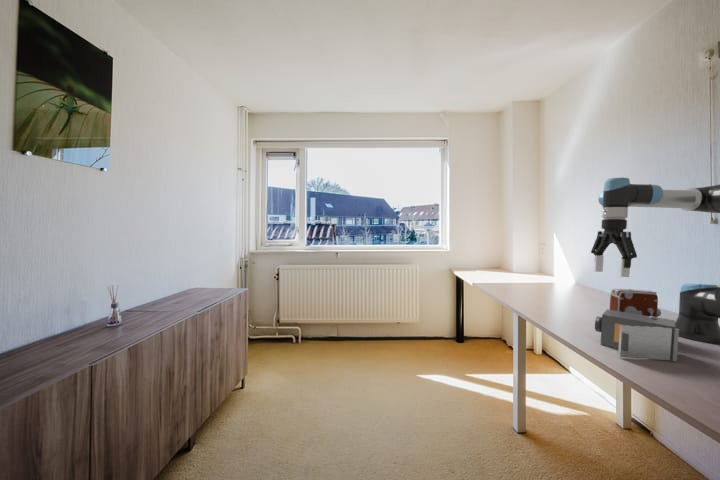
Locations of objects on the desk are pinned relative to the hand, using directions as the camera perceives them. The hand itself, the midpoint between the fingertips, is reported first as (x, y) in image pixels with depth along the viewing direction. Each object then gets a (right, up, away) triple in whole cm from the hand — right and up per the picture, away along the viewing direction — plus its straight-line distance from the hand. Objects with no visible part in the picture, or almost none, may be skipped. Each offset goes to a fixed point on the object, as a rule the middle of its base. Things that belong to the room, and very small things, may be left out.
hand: (610, 274), depth 122 cm
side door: (+2, -28, -12) cm, 31 cm away
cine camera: (+22, -28, +13) cm, 38 cm away
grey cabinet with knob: (+9, -28, -1) cm, 30 cm away
